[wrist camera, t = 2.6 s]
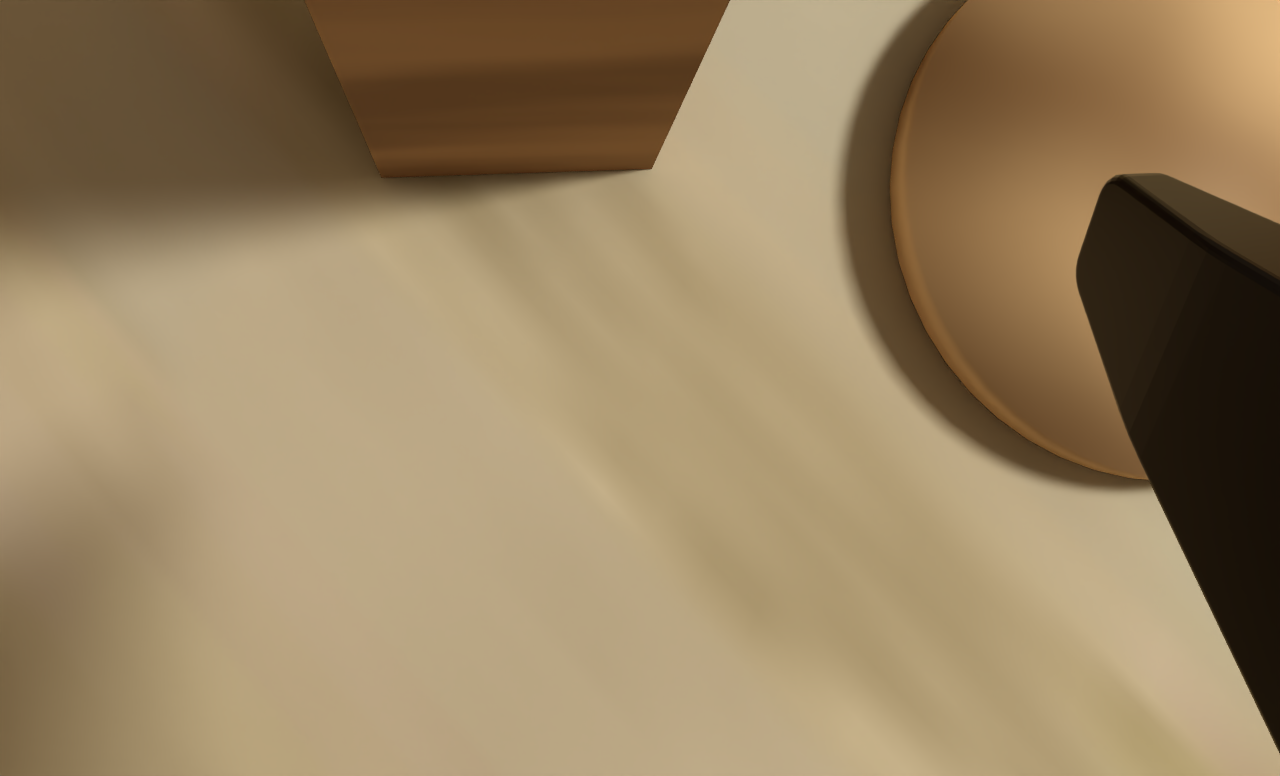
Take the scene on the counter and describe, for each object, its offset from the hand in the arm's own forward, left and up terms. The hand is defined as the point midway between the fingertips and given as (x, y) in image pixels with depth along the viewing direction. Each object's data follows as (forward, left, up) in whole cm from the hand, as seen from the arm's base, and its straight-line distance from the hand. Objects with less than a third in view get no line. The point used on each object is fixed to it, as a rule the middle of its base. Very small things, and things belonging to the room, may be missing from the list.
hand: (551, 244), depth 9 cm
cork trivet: (+7, -11, -12) cm, 18 cm away
